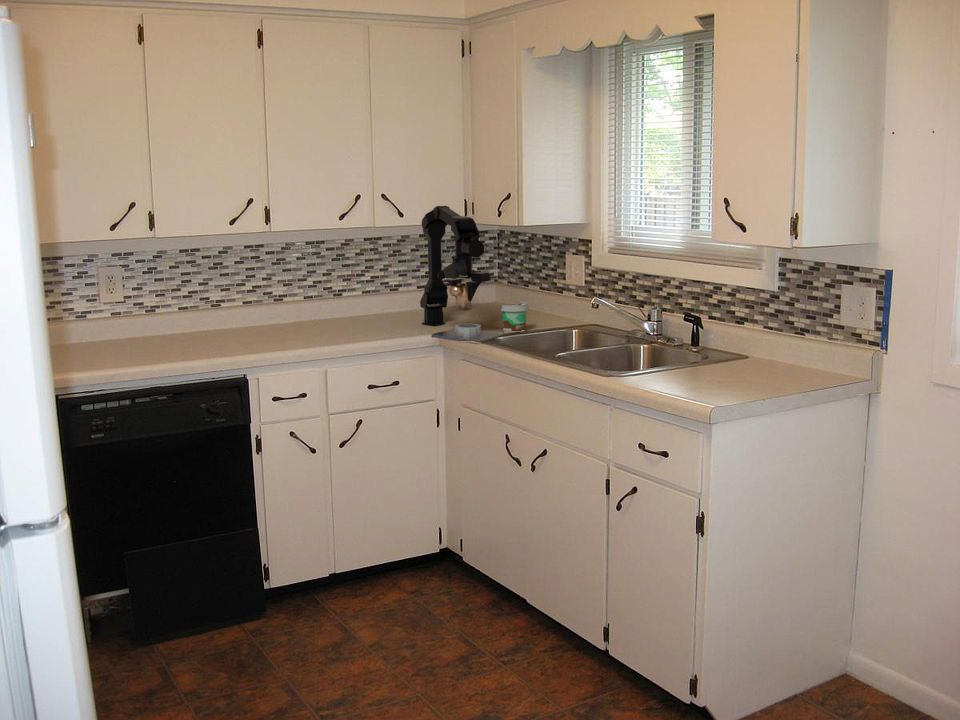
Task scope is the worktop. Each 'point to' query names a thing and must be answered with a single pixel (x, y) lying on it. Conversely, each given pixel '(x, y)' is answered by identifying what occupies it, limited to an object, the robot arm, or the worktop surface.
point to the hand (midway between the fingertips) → (463, 300)
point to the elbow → (461, 296)
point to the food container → (514, 316)
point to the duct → (466, 333)
